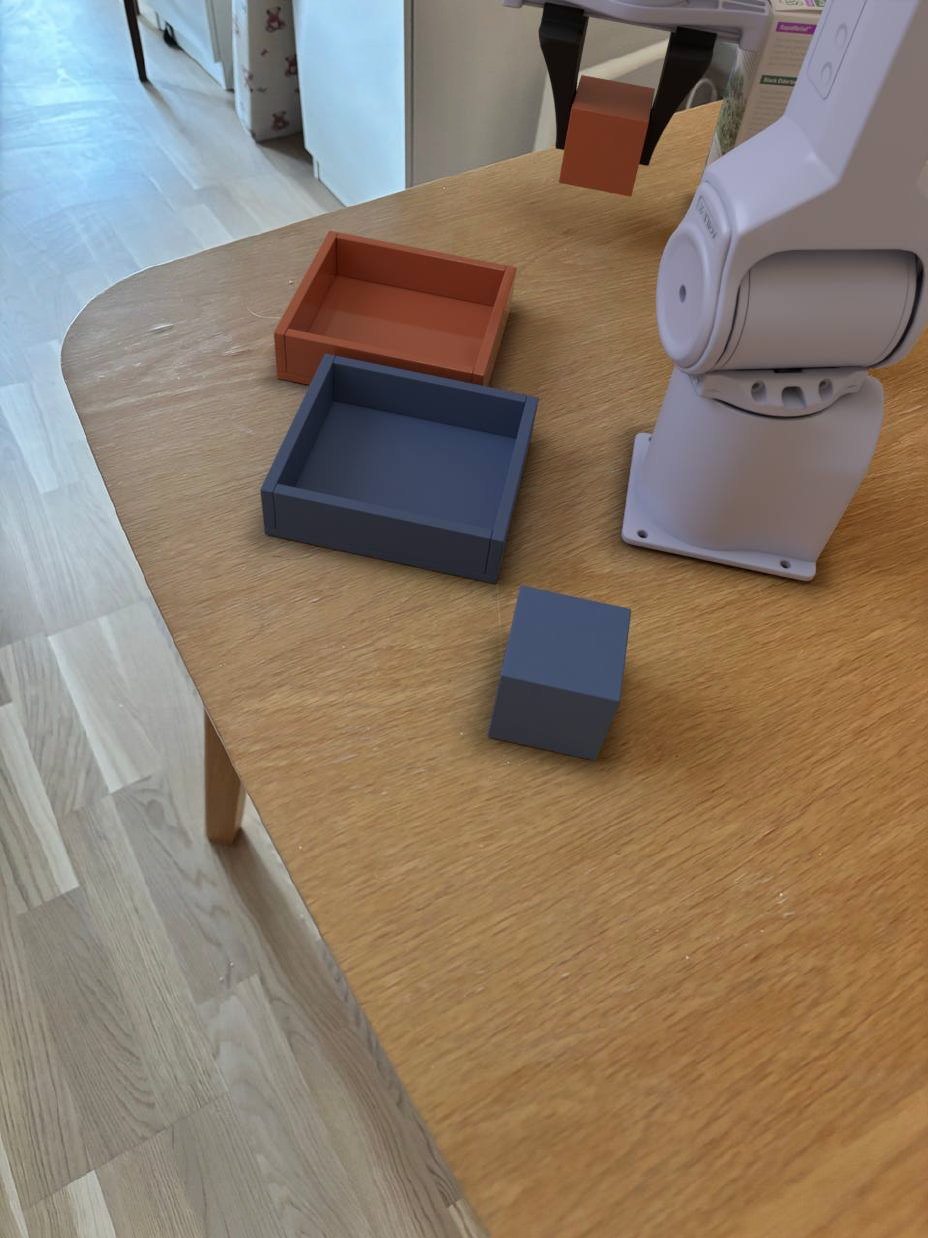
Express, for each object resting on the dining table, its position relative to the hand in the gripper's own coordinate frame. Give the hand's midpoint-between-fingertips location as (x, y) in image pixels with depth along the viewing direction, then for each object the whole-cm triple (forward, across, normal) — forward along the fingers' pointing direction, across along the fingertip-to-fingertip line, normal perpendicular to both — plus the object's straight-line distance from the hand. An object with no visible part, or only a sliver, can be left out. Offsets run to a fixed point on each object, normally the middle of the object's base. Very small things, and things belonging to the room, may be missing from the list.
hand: (604, 149), depth 61 cm
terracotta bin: (+5, +9, +16) cm, 19 cm away
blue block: (+5, -3, +38) cm, 38 cm away
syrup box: (+6, -10, -4) cm, 12 cm away
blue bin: (+5, +6, +27) cm, 28 cm away
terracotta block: (+1, 0, 0) cm, 1 cm away
